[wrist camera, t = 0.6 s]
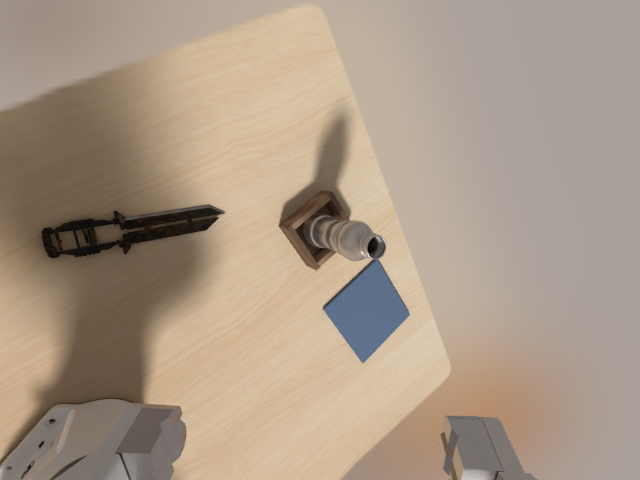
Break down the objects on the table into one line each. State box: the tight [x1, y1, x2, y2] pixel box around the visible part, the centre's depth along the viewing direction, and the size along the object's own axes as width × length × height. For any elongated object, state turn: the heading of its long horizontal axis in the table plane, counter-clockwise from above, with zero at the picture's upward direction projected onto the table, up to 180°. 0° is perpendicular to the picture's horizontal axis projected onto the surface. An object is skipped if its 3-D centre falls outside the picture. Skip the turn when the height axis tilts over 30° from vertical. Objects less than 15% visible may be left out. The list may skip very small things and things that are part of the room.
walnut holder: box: [279, 191, 349, 270], centre depth 67 cm, size 11×10×4 cm
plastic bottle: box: [303, 213, 386, 261], centre depth 60 cm, size 6×7×20 cm
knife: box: [42, 205, 225, 258], centre depth 55 cm, size 25×6×1 cm, turn 91°
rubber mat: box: [323, 259, 410, 363], centre depth 79 cm, size 16×18×1 cm
